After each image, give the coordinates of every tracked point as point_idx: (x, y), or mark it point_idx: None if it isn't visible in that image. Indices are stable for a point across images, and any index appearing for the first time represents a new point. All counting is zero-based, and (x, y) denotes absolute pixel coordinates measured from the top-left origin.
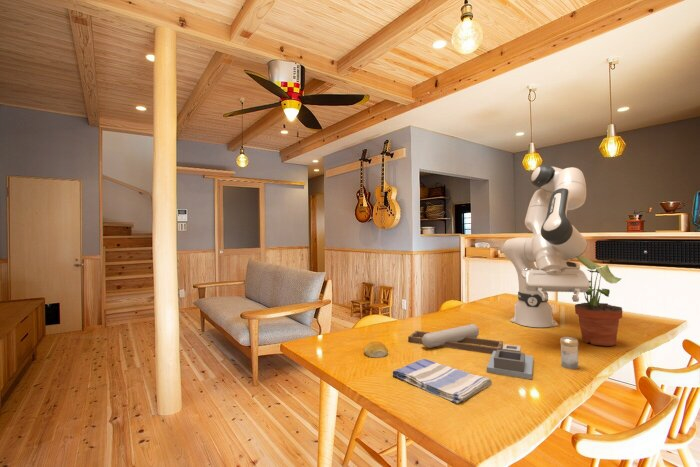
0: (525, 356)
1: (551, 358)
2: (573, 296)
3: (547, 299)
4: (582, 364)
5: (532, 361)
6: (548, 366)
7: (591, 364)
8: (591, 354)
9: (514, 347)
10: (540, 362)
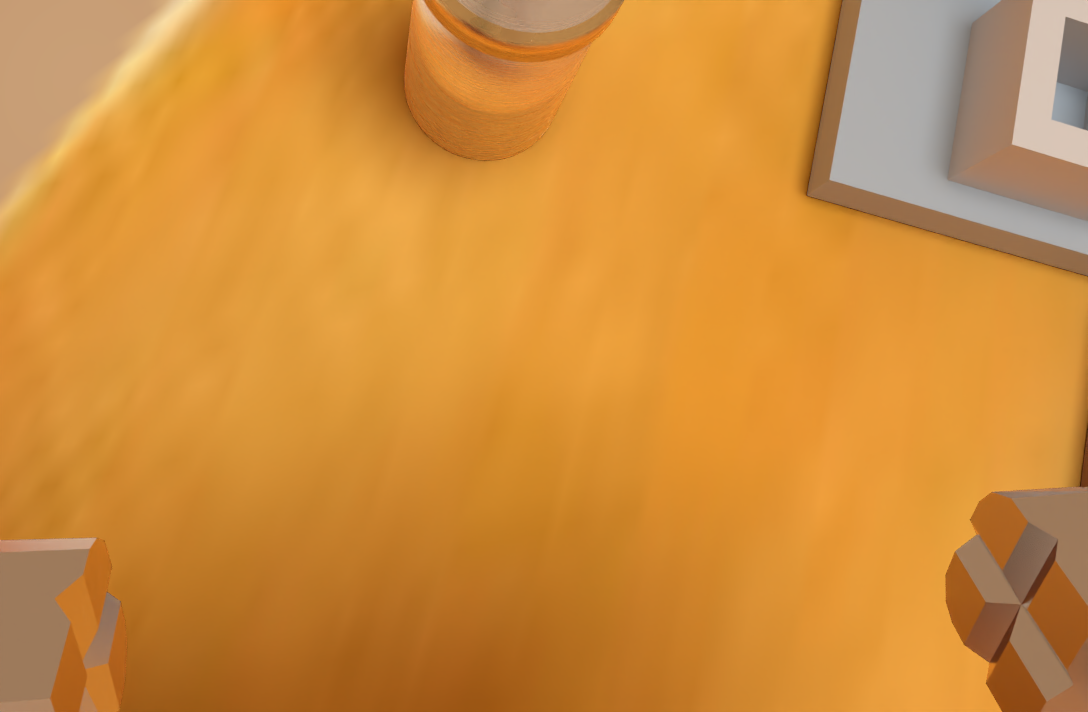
0: (907, 150)
1: (606, 299)
2: (69, 646)
3: (985, 518)
4: (328, 163)
5: (861, 11)
6: (692, 54)
7: (227, 179)
8: None
9: (1068, 131)
10: (745, 154)
